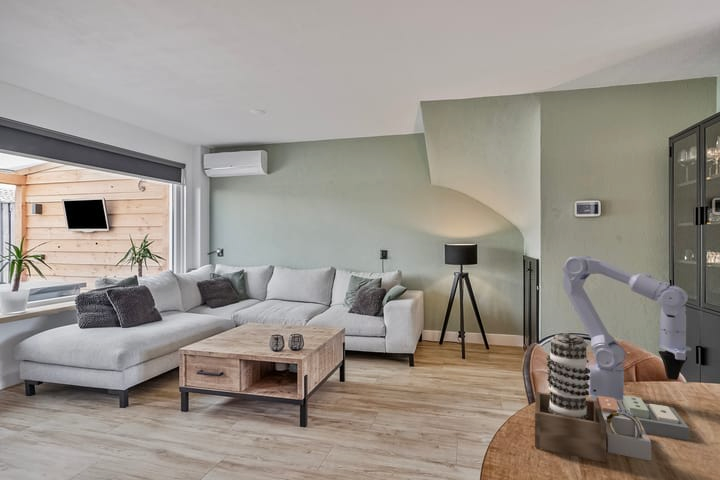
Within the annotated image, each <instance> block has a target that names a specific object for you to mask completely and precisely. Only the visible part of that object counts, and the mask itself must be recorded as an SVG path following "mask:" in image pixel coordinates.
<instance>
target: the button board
mask: <svg viewBox="0 0 720 480" xmlns="http://www.w3.org/2000/svg"><path fill="white" fill-rule="evenodd" d="M590 400H593V401H598V396H592V395H591V397H590ZM615 400H616V402H617V404H618V406H619V408H620V410H621V409H623V408H624V406H623V400H618V399H615ZM644 404H645V405H646V407H647V408H648V410H649V419H645V418H639V417H636V418H637V419H638V420H639V421H640V423H641V425H642V427H643V428H644V430H645V432H646V434H650V435H656V436H657V435H658V436H662V437H666V438H667V437H668V438H673V439H679V440H683V441H690V427H689V426H688V424H686V422H685V421H684V420H683V418H682V417H681V416H680V414H679V413H678V412H677V410H675V408H674V407H670V406H668V407H669V409H670V410H671V411H672V413H673V414H674V415H675V416H676V418H677V419H678V420H679V423H678V424H675V423H669V422H663V421H657V420H656V418H655V417H654V415H653V414H652V412H651V410H650V409H649V406H650V404H651V403H645V402H644ZM601 412H602V411H601ZM602 414H608V415H610V414H611V413H608V412H602ZM619 416H620V417H626V416H621V415H619ZM626 418H628V417H626Z"/></svg>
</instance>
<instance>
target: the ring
mask: <svg viewBox="0 0 720 480" xmlns="http://www.w3.org/2000/svg"><path fill="white" fill-rule="evenodd" d="M628 410H629V409H627V410H625V408H623V409H621V410H620V409H619V408H618V410H615V411H613V412H612V413H611V414H610V415H609V416H608V417H607V422H608V423H609V426H610V428H611V431H612V433H613V434H617V433H616V432H615V431H614V429H613V427H612V423H611V421H612V418H613V417H615V416H619V415H621V416H626V417H628V418H630V419H631V420H632V421H633V422H634V424H635V426H636V428H637V436H636V438H641V433H642V426H641V424H640V422H639V421H638V419H637V418H636V417H635V416H633V413H632V414H631V411H628Z"/></svg>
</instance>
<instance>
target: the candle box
mask: <svg viewBox="0 0 720 480" xmlns="http://www.w3.org/2000/svg"><path fill="white" fill-rule="evenodd" d="M549 406H550V393H547V392H541V391H535V408H534V410H535V411H534V412H535V413H534V448H535V447H537V448H536V449H539V448H542V449H541V450H544V449H546V450H545V451H549V450H550V452H554V453H560V454H563V453H564V455H568V456H574V457H578V458H583V459H588V460H593V461H597V462H603V463H607V448H606V423H605V420H604V417H603V414H602V412H601V409H600V406H599V403H598V401H593V400H591V399H587V398H586V406H587V415H588V420H584V419H578V418H572V417H567V416H561V415H555V414H549V411H548V407H549Z"/></svg>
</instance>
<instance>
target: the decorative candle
mask: <svg viewBox="0 0 720 480" xmlns="http://www.w3.org/2000/svg"><path fill="white" fill-rule="evenodd" d="M549 341H550V352H549V355H547V356H546V361H547V363H546V366H547V367H548V370H547V375H548V376H547V379H546V380H547V382H548V390H549V391H550V393H549V394H550V406H549V407H548V411H549V414H555V415H561V416H567V417H572V418H578V419H584V420H588V415H587V406H586V399H587V397H588V396H590V394H589V391H588V388H589V385H588V384H587V383H588V380H590V376H588V373H590V370H589V369H588V367H586V365H588V363H590V362H589V359H588V356H587V347H588V346H589V343H588V342H586V341H585V340H584V337H582V336H580V335H578V334H573V333H566V332H564V333H563V332H560V333H556V334H555V335H554V336H553V338H550V340H549ZM586 381H587V382H586Z"/></svg>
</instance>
